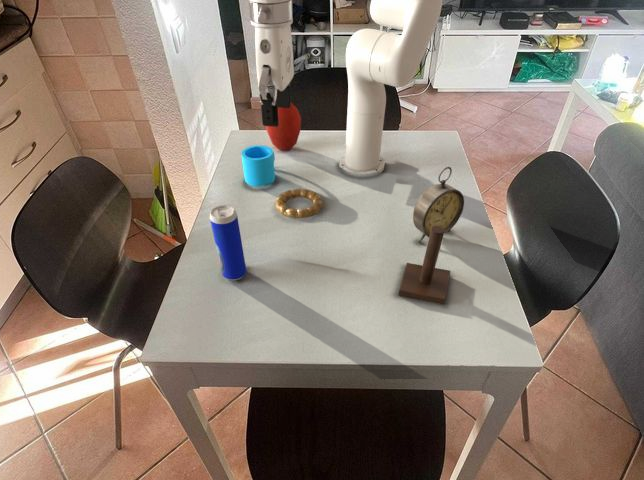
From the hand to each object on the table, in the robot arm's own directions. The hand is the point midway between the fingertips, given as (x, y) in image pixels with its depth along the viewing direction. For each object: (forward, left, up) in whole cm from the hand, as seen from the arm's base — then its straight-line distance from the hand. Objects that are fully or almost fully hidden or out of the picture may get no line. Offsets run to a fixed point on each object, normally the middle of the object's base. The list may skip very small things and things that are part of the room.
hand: (277, 116), depth 88 cm
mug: (-14, -11, -23) cm, 29 cm away
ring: (-3, +3, -22) cm, 22 cm away
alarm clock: (-1, +36, -23) cm, 43 cm away
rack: (+17, +37, -23) cm, 46 cm away
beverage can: (+25, -2, -23) cm, 34 cm away
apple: (-33, -12, -23) cm, 42 cm away
